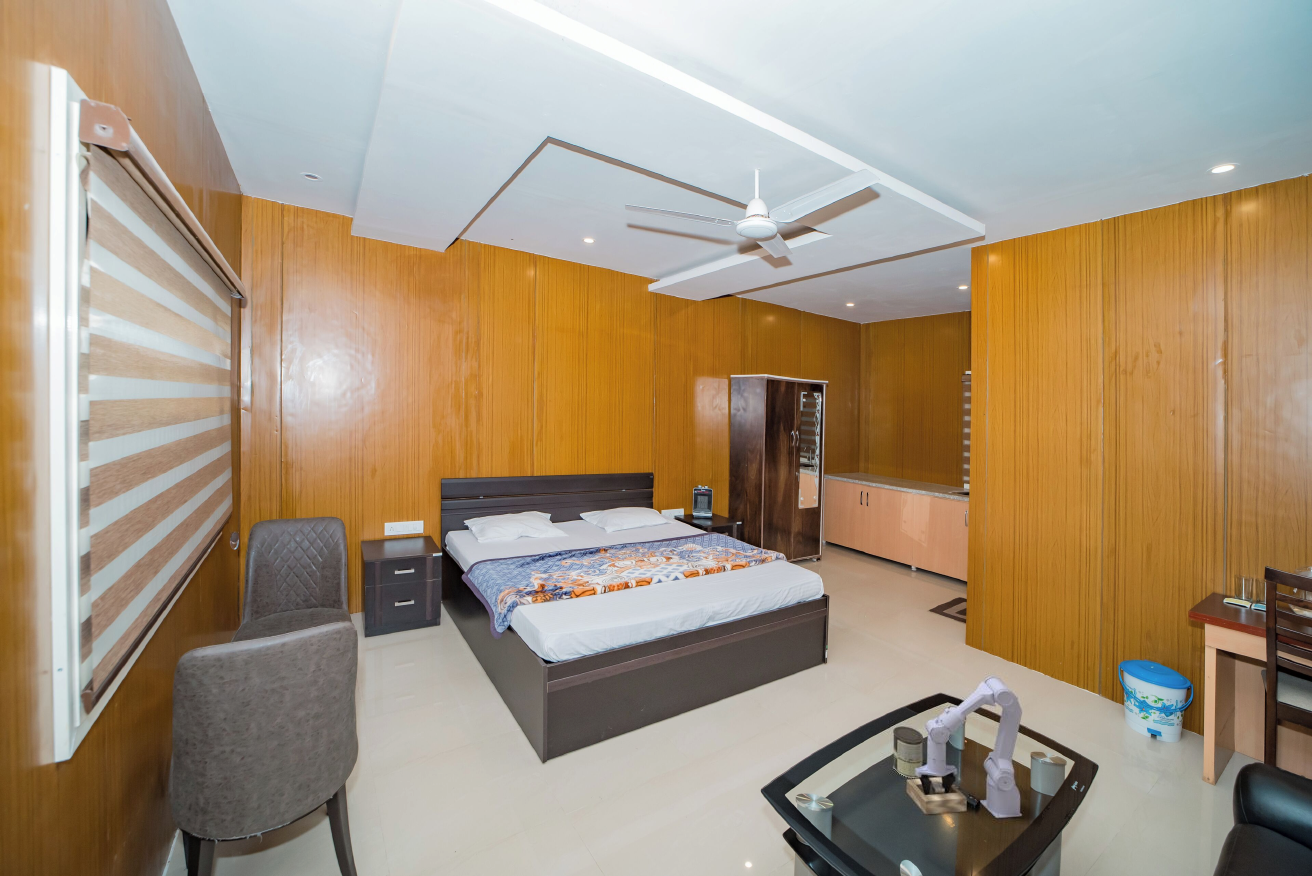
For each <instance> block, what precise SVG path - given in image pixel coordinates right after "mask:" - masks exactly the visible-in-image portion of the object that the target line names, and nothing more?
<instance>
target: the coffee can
mask: <svg viewBox="0 0 1312 876" xmlns="http://www.w3.org/2000/svg"><path fill="white" fill-rule="evenodd" d="M923 742H924V737H923V734H922V733H921V732H920V731H918V730H917V729H915V728H912V727H909V726H896V727H895V728H894V729H893V759H892V760H893V763H892V764H893V765H892V768H893V770H894V769H895V770H896V771H897V772H898V773H899V774H898V773H897V772H896V771H895V770H894V771H895V772H896V773H897V774H898V775H900V774H901V775H900V776H902V775H903V776H902V777H904V776H905V778H907V777H908V778H907V779H912V778H913V779H914V778H915V779H919V777H918V776H917V775H916V774H915V768H920V767H922V766H923Z"/></svg>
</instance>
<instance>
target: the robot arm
mask: <svg viewBox="0 0 1312 876" xmlns="http://www.w3.org/2000/svg"><path fill="white" fill-rule="evenodd" d="M1018 699H1019V698H1018V696H1017V695H1016V694H1015V693H1014V692H1013V691H1012V690H1010V688H1009V687H1008V686H1007V685H1006V684H1005V682H1004V681H1002V680H1001V679H1000V678H999V677H997V676H988V677H987V678H985V680H984V681H981V682H980V683H979V685H978V687H977V688H976V690H975V691H973V692H972V693H970V694H969V696H968V697H967V698H966V699H965V700H964V701H962V702H961V703H960V704H959V705H958V706H957V707H955V706H951V707H949V708H948V707H946V708H945V709H944V711H943V712H942V713H941V714H940V715H939V716H937V717H935V718H932V719H929V720H928V721H927V722H926V724H924V728H925V730H926V731H927V740H926V741H927V745H926V746H927V747H926V749H927V752H926V756H927V757H926V759H927V760H926V764H925V765H922V767H920V768H915V774H916V775H917V776H918V777H919V778H918V779H920V781H921V784H922V787H923V791H924V794H925V795H930V786H931V783H932V781H931V780H930V779H929V778H930V776H935V777H942V786H943V787H944V788H945V794H947V793H949V791H950V788H951V786H952V784H953V785H954V783H955V782H956V780H957V779H956V776H955V775H958V768H957V767H956V766H955V765H947V764H946V761H947V758H946V757H947V756H946V755H947V754H946V751H947V745H946V743H947V742H948V741H949V739H950V735H951V733H953V732H954V731H955V730H957V729H959V728H960V727H961V726H962V725H963V724H965V722H966V717H967V716H968V715H970V714H972V713H973V712H975V711H976V710H978V709H979V708H981V707H982V706H985V705H987V706H991V707H997V705H998V706H999V707H1000V708H1002V710H1001V713H1000V714H1001V715H1000V720H999V724H998V729H997V733H996V734H997V735H996V736H995V737H996V738H995V743H994V747H993V751H990V752H989V753H988V756H987V757H986V759H985V760H984V762H983V768H984V770H985V771H986V773H987V776H986V792H985V793H986V796H985V797H986V799H984V800H983V799H982V800H979V801H980V803H981V805H983V807H984V808H985V809H987V810H988V812H990V813H991V814H992V815H993V817H995V819H1003V818H1004V819H1005V818H1012V817H1013V818H1014V817H1016V818H1017V817H1022V816H1023V814H1022V813H1021V794H1020V791H1019V788H1018V787H1017V785H1016V780H1015V769H1014V766H1013V761H1012V760H1013V756H1014V752H1015V747H1016V742H1017V737H1018V733H1019V730H1020V729H1019V728H1020V725H1021V724H1020V723H1021V720H1022V714H1023V709H1022V707H1021V705H1020V702H1019V700H1018ZM996 704H997V705H996Z"/></svg>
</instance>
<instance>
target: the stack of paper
mask: <svg viewBox="0 0 1312 876" xmlns="http://www.w3.org/2000/svg"><path fill="white" fill-rule="evenodd" d="M934 794H945V788H944V787H943V786H942V783H941V782H938V781H932V783H931V786H930V795H934Z"/></svg>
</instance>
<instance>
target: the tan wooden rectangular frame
mask: <svg viewBox="0 0 1312 876" xmlns="http://www.w3.org/2000/svg"><path fill="white" fill-rule="evenodd" d="M929 779H930V780H931V781H938V782H941V783H942V777H940V776H936V777H929ZM906 793H907V794H908V796H909V797H910V798H911V799H912V800H913V802H914V803H915V804H916V805H917V806H918V807H919V809H920V810H921V811H922V812H923V813H924V814H925V815H934V814H944V813H945V814H946V813H958V812H967V811H968V810H967V804H968V803H967V801H968V800H967V799H968V798H967V797H966V796H965V795H964V794H963V793H962V791H960V790H959V789H958V787H956V785H954V783H953V784H952V786H951V788H950V791H949V793H947V794H934V795H925V794H924V791H923V787H922V784H921V781H920V779H919V778H915V779H912V778H909V779H906Z"/></svg>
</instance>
